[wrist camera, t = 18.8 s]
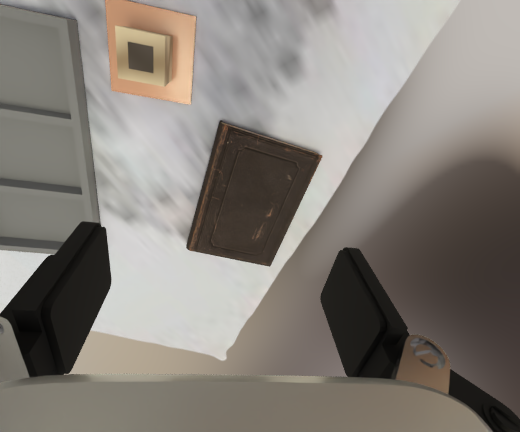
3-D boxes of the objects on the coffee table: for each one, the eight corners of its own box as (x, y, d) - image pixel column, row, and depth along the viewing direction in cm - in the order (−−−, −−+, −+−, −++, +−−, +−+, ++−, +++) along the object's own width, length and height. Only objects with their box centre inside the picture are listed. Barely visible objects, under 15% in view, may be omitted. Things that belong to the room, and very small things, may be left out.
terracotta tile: (106, -4, 32) (104, -5, 32) (196, 16, 34) (195, 16, 34) (113, 89, 38) (111, 90, 37) (190, 103, 39) (190, 104, 39)
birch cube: (129, 26, 34) (114, 25, 29) (172, 36, 35) (165, 36, 30) (130, 73, 36) (117, 78, 32) (171, 80, 37) (164, 86, 33)
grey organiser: (-98, -17, 30) (-123, -21, 28) (76, 20, 33) (66, 19, 31) (-7, 239, 48) (-18, 248, 46) (103, 248, 51) (97, 257, 49)
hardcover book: (318, 151, 45) (322, 156, 43) (268, 258, 56) (270, 266, 54) (220, 119, 41) (219, 123, 39) (187, 241, 52) (185, 249, 50)
